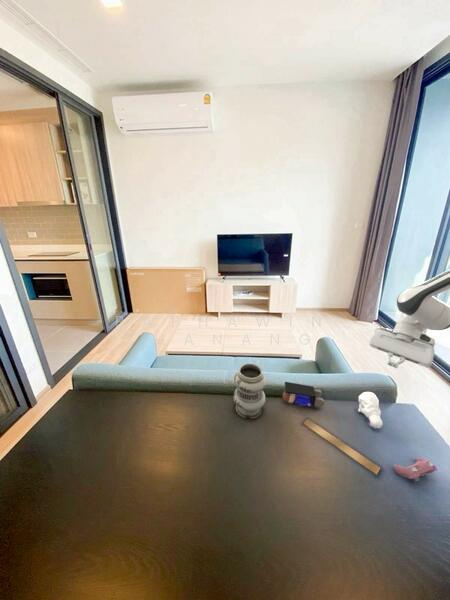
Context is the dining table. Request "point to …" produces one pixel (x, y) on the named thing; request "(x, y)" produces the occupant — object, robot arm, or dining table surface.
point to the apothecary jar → (249, 390)
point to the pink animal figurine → (416, 469)
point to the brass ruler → (343, 447)
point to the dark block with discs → (302, 395)
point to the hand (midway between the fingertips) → (392, 366)
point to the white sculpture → (370, 409)
